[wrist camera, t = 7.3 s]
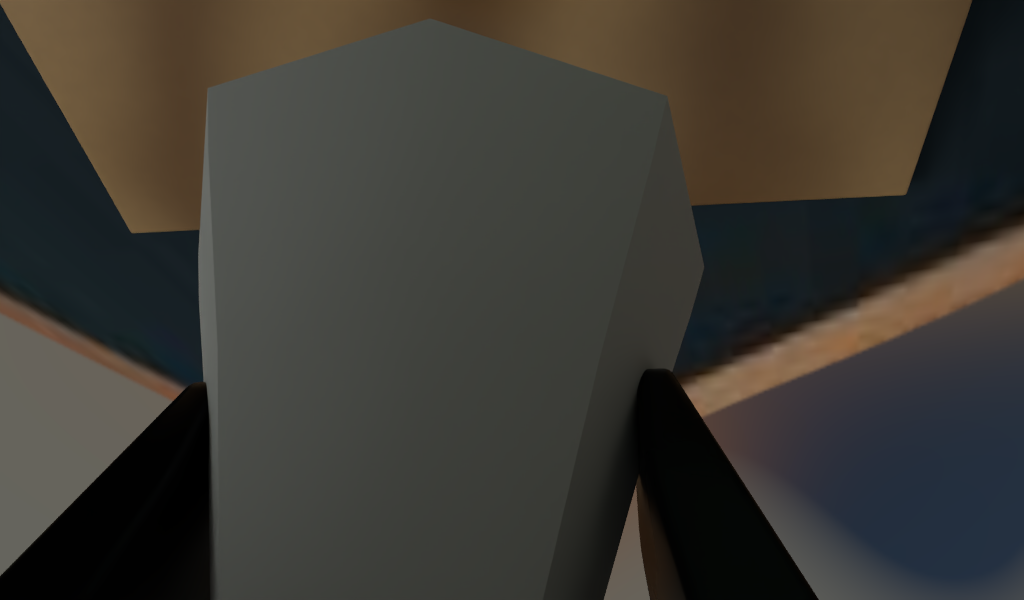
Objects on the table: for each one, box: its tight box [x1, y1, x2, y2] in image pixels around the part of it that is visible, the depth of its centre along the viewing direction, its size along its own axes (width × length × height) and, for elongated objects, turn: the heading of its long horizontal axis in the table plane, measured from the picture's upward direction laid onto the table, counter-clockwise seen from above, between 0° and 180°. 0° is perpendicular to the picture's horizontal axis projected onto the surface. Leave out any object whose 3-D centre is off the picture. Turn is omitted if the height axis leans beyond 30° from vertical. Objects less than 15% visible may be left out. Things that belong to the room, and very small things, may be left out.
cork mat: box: [0, 0, 972, 233], centre depth 17 cm, size 20×10×1 cm, turn 95°
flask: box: [198, 19, 704, 600], centre depth 8 cm, size 7×7×10 cm
